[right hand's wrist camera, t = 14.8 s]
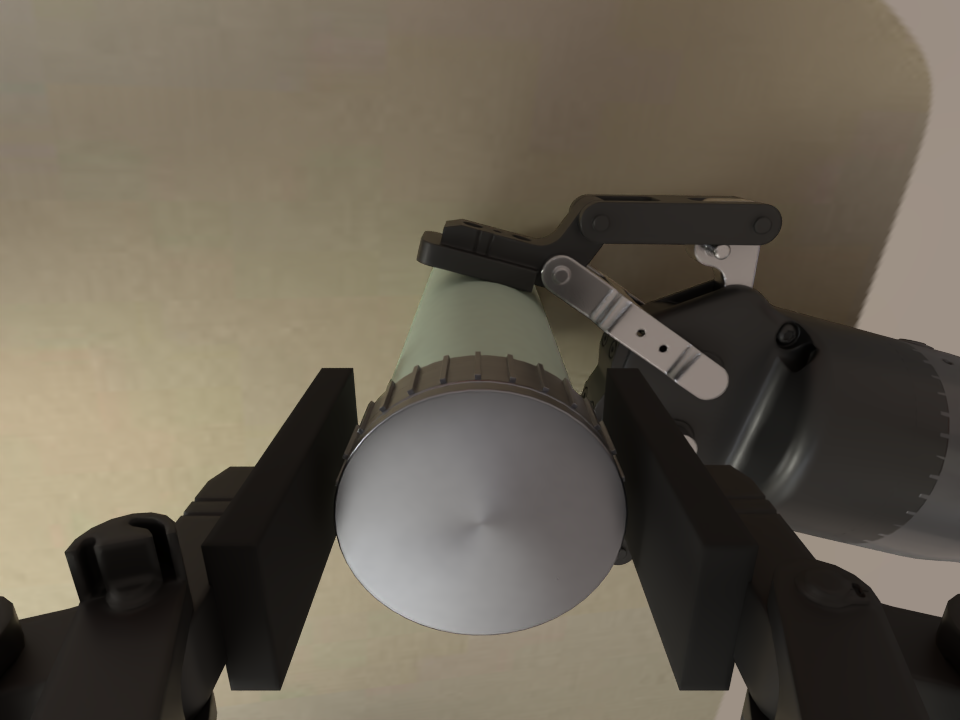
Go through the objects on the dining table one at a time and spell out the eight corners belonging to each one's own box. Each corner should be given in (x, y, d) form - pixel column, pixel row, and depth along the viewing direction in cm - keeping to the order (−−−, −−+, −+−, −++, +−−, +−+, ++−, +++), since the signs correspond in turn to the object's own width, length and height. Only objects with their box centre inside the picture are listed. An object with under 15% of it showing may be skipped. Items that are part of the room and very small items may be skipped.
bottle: (476, 217, 25) (471, 335, 10) (557, 291, 26) (658, 496, 11) (404, 298, 26) (304, 510, 11) (483, 366, 27) (488, 638, 12)
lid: (323, 541, 13) (300, 599, 11) (387, 314, 11) (371, 344, 9) (556, 602, 13) (566, 665, 12) (655, 397, 12) (683, 439, 10)
